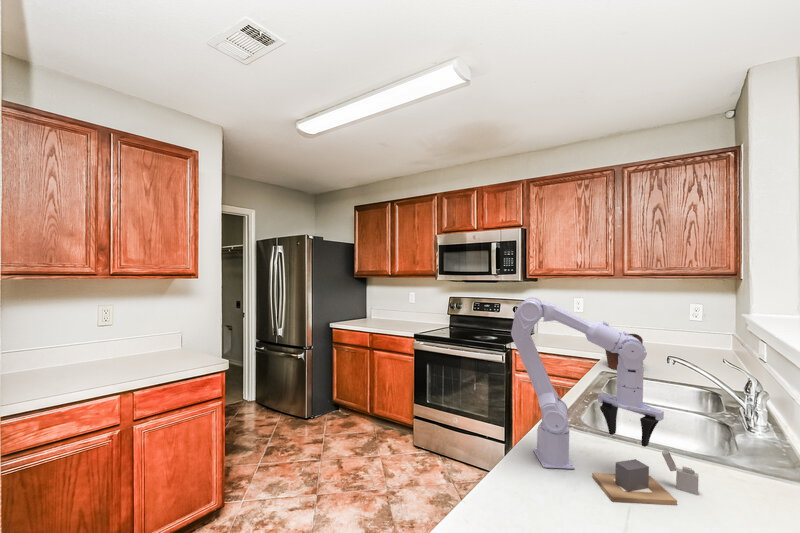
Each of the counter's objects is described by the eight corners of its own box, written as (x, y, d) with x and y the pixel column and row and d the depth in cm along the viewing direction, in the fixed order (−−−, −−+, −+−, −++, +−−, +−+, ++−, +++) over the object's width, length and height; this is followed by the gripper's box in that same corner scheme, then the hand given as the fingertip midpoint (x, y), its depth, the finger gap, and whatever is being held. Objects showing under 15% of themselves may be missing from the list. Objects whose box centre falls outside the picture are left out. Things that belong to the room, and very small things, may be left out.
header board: (592, 476, 96) (592, 465, 96) (650, 479, 96) (650, 468, 96) (612, 501, 86) (612, 489, 86) (677, 505, 86) (677, 492, 86)
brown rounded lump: (597, 368, 199) (599, 334, 199) (606, 361, 214) (608, 329, 214) (637, 376, 187) (639, 339, 187) (644, 368, 203) (646, 334, 202)
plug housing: (615, 483, 92) (615, 462, 92) (635, 479, 93) (635, 459, 93) (627, 491, 88) (628, 470, 88) (648, 488, 90) (648, 466, 90)
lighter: (697, 491, 91) (698, 458, 91) (697, 495, 89) (698, 461, 89) (661, 481, 95) (662, 448, 95) (661, 484, 94) (661, 451, 94)
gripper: (592, 380, 100) (591, 432, 100) (655, 396, 88) (654, 455, 89) (605, 376, 104) (604, 426, 104) (667, 391, 93) (666, 447, 93)
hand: (628, 439), depth 97 cm, fingers open, 7 cm apart
